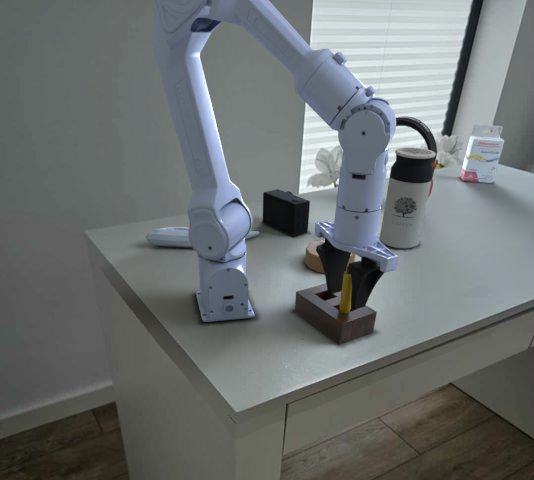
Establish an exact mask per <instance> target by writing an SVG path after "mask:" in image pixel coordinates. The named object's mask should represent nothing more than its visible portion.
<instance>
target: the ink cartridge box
mask: <svg viewBox="0 0 534 480" xmlns="http://www.w3.org/2000/svg"><path fill="white" fill-rule="evenodd" d="M487 129H488V130H489V131H483V130H487ZM503 129H504V127H503V125H492V124H491V125H489V124H474V125H473V127H472V130H471V135H470V136H469V140H468V144H467V148H466V153H465V156H464V159H463V164H462V168H461V172H460V176H459V177H460V178H461V180H462V181H463V182H471V183H472V182H473V183H486V184H487V183H488V184H493V182H494V179H495V176H496V172H497V168H498V166H499V163H500V162H499V161H500V159H501V155H502V151H503V147H504V144H505V140H504V139H503V138H502V137H501V136H502V132H503ZM461 173H462V175H463V176H464V177H470V178H464V177H463V176H462V175H461ZM475 178H487V179H475ZM491 179H493V180H491Z"/></svg>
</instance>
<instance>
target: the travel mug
mask: <svg viewBox="0 0 534 480" xmlns="http://www.w3.org/2000/svg"><path fill="white" fill-rule="evenodd" d="M394 153H395V161H394V162H393V164H392V166H391V167H390V172H389V178H388V185H387V191H386V197H385V203H384V209H383V215H382V221H381V228H380V234H379V235H380V238H379V241H380V242H381V243H382V244H383V245H385V246H388V247H391V248H395V249H411V248H415V247H417V246H418V245H419V243H420V238H421V233H422V229H423V224H424V219H425V214H426V210H427V206H428V200H429V198H428V196H429V191H430V186H431V181H432V179H433V178H432V177H434V174H433V172H434V173H435V170H434V171H433V168H432V164H431V163H432V160H433V158H434V157H435V156H436V153H435V152H433V151H431V150H428V148H421V147H412V146H411V147H410V146H409V147H398V148H396V149H395V150H394ZM436 157H437V156H436ZM429 197H430V196H429Z"/></svg>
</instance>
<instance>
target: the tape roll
mask: <svg viewBox="0 0 534 480" xmlns="http://www.w3.org/2000/svg"><path fill="white" fill-rule="evenodd" d="M323 242H325V239H318V240H315V241H311V242H309V243H308V244H307V245H306V247H305V255H304V256H305V257H304V263H305V265H306V267H307V268H308V269H310V270H312V271H315V272H317V273H321V274H325V273H324V269H323V265H322V262H321V260H320V257H319V255H318V253H317V252H316V247H317V246H318V245H321V244H323ZM356 256H357V255H356V254H353V253H351V256H350V258H349V261H348V264H347V266H348V265H349V263H353V262H356ZM346 271H347V268H346Z"/></svg>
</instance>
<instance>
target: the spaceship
mask: <svg viewBox="0 0 534 480" xmlns="http://www.w3.org/2000/svg"><path fill="white" fill-rule="evenodd" d="M188 232H189V227H184V226H170V227H159V228H156V229H153V230H151V231H149V232H147V234H146V236H144V238H145V239H146V240H147V242H148V243H149V244H151V245H155V246H158V247H173V248H193V247H192V246H191V243H190V240H189V234H188ZM257 235H260V231H258V230H251V231H250V232H249V234H248V235H247V236H246V237H245V240H246V239H250V238H254V237H256V236H257Z"/></svg>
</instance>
